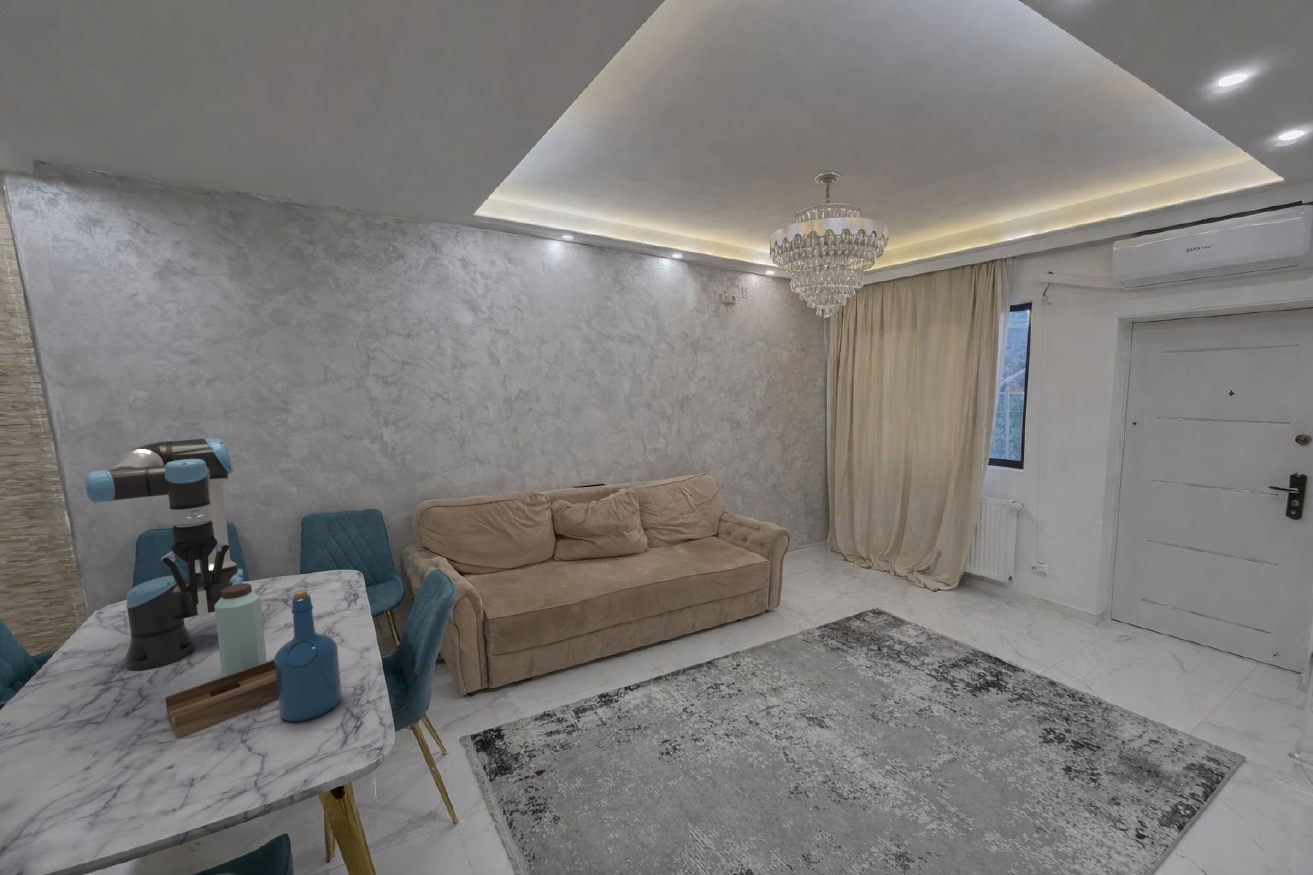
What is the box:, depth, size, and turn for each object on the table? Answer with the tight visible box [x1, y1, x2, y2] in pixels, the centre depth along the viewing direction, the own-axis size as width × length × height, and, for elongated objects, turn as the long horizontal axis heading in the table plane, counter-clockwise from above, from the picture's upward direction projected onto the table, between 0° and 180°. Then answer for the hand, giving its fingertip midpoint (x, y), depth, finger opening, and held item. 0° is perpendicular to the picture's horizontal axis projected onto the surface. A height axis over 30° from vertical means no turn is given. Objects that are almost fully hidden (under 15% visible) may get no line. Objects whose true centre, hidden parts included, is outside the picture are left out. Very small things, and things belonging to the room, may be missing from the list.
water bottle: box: [214, 583, 268, 677], centre depth 147 cm, size 10×10×25 cm
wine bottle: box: [273, 589, 342, 723], centre depth 131 cm, size 14×13×30 cm
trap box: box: [164, 659, 278, 739], centre depth 137 cm, size 13×30×6 cm, turn 140°
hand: (203, 614), depth 132 cm, fingers closed
